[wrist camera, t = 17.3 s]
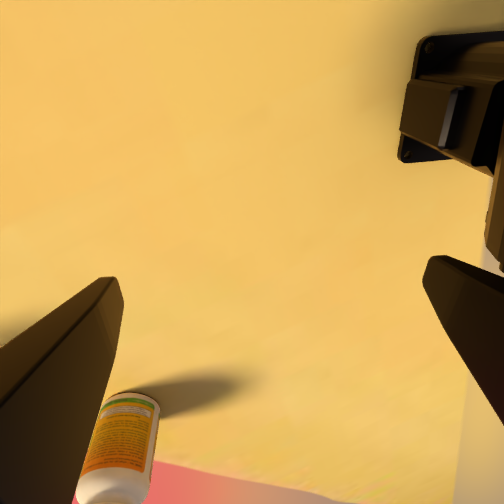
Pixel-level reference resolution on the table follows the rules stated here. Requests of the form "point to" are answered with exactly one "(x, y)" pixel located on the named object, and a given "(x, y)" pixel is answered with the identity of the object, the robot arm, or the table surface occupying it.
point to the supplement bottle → (120, 452)
